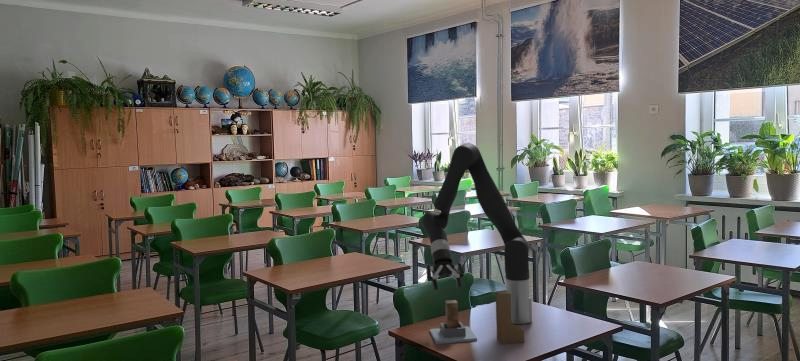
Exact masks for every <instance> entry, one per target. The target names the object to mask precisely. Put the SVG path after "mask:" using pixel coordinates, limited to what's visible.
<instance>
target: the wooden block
mask: <svg viewBox="0 0 800 361" xmlns="http://www.w3.org/2000/svg"><path fill="white" fill-rule="evenodd" d="M495 319H496V320H495V322H496V323H495V324H496V340H497V341H498V343H499V344H500V345H502V344H503V345H504V344H516V343H517V344H518V343H519V344H520V343H525V330H524V328H522V327H521V325H520V326H519V325H514V324H513V323H512V317H511V294H510V293H509V292H508V291H506V290H499V291H497V290H496V291H495Z"/></svg>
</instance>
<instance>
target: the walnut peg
mask: <svg viewBox="0 0 800 361" xmlns="http://www.w3.org/2000/svg"><path fill="white" fill-rule="evenodd" d="M444 303H445V310H444V311H445V323H446V329H449V328H459V325H458V322H459V303H458V301H457V300H456V299H449V300H445V301H444Z"/></svg>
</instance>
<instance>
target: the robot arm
mask: <svg viewBox="0 0 800 361" xmlns="http://www.w3.org/2000/svg"><path fill="white" fill-rule="evenodd" d="M466 171H468V173H469V174H470V177H471V178H472V180H473V184H474V189H475V194H476V199H477V201H478V203H479V205H480V207H481V208H482V211H483V213H484V214H485V216H486V217H487V218H488V219H489V220H488V221H490V222H491V224H493V226H494V228H496V231H498V233H499V235H500V237H501V239H502V241H503V244H504V250H503V251H504V255H503V256H504V258H503V260H504V273H505V291H508V292H509V293H510V294H511V317H512V324H513V325H526V324H529V323H533V306H532V305H533V304H532V302H533V300H532V297H531V295H530V294H531V291H530V289H531V288H530V265H529V263H530V262H529V260H530V259H529V256H530V255H529V252H530V246H529V243H528V241H527V240H526V238H525V237H524V235H523V234H522V232H521V231H520V230H519V228H518V227H517V225H516V223H515V221H514V219H513V216H512V214H511V212H510V210H509V207H508V204H506V201H505V199H504V198H503V195H502V193H501V192H500V190H499V188H498V186H497V185H496V183H495V181H494V179H493V177H492V176H491V173H490V172H489V170H488V168H487V166H486V163H485V161H484V159H483V156H482V154H481V151H480V149H479V147H477V146H476V144H474V143H471V142H467V143H464V144H460V145H459V146H457V147H455V148H454V150H453V152H452V155H451V160H450V163H449V166H448V169H447V173H446V175H445V179H444V181H443V183H442V185H441V187H440V190H439V192H438V194H437V195H436V199H435V200H434V207H435V209H436V210H438V211H439V212H435V211H431V210H430V211H429V210H428V211H425V212H424V214H423V217H422V220H421V221H422V226H423V228H424V230H425V232H426V234H427V236H428V238H429V243H430V251H431V252H430V253H431V256H432V263H433V265H432V266H430V265H429V264H428V265H426V268H425V269H426V270H425V271H426V280H427V282H431V283H432V287H433V290H435V291H438V288H439V287H438V281H437V280H438V278H439V277H450V278H452V279H454V280H455V285H456V289H457V290H460V288H461V286H462V283H461V280H463V279H464V276H465V273H464V269H463V266H462V264H461V263H460V262H458V263H457V264H454V263H453V259H452V258H453V257H452V253H451V248H450V245H449V241H448V238H447V232H446V231H445V230H444V229H446V228H447V226H448V223H449V218H450V217H449V216H450V212H451V208H452V206H453V204H454V202H455V199H456V197H457V195H458V191H459V186H460V183H461V181H462V178H463V176H464V174H465V173H466ZM432 271H433V272H435V273H434V275H433V276H432V275H431V273H432Z"/></svg>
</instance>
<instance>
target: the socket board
mask: <svg viewBox="0 0 800 361" xmlns="http://www.w3.org/2000/svg"><path fill="white" fill-rule="evenodd" d="M458 325H459V328H449V329H446V322H440V323H439V328H430V329H429V333H430V335H431V336H432V339H433V341H434V343H435V344H436V345H441V344H451V343H453V344H454V343H466V342H467V343H469V342H477V341H478V337H477V336H476V335H475V333H474V332H473V331H472V330H471V328H470V326H468V325H467V326H465V325H464V324H463V323H462V321H458Z"/></svg>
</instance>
